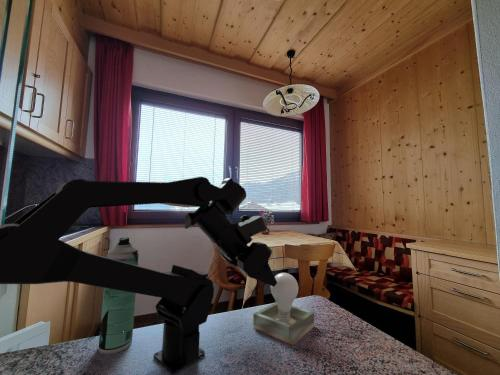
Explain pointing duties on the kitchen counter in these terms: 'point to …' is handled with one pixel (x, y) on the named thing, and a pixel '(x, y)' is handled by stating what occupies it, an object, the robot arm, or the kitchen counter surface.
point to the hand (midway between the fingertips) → (265, 278)
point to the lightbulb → (284, 295)
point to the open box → (286, 332)
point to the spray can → (118, 306)
